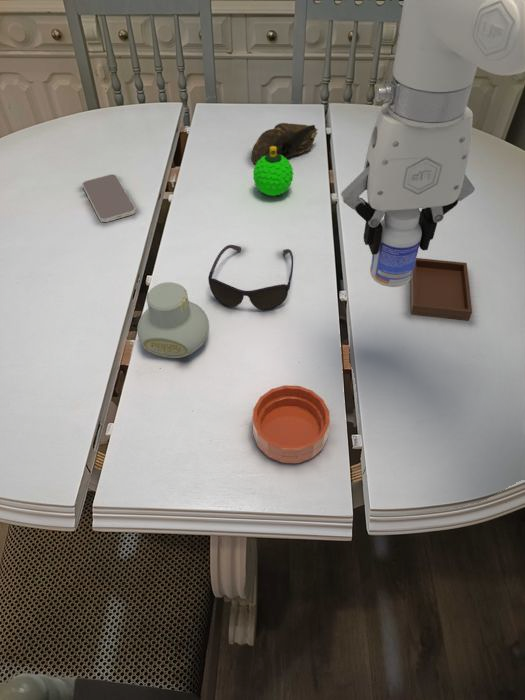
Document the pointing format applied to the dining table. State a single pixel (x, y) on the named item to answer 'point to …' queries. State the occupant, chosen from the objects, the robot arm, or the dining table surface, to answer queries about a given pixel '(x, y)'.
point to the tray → (440, 289)
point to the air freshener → (172, 322)
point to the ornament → (273, 173)
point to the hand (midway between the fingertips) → (396, 244)
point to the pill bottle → (397, 248)
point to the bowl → (290, 424)
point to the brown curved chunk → (284, 140)
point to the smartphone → (108, 198)
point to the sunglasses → (259, 298)
